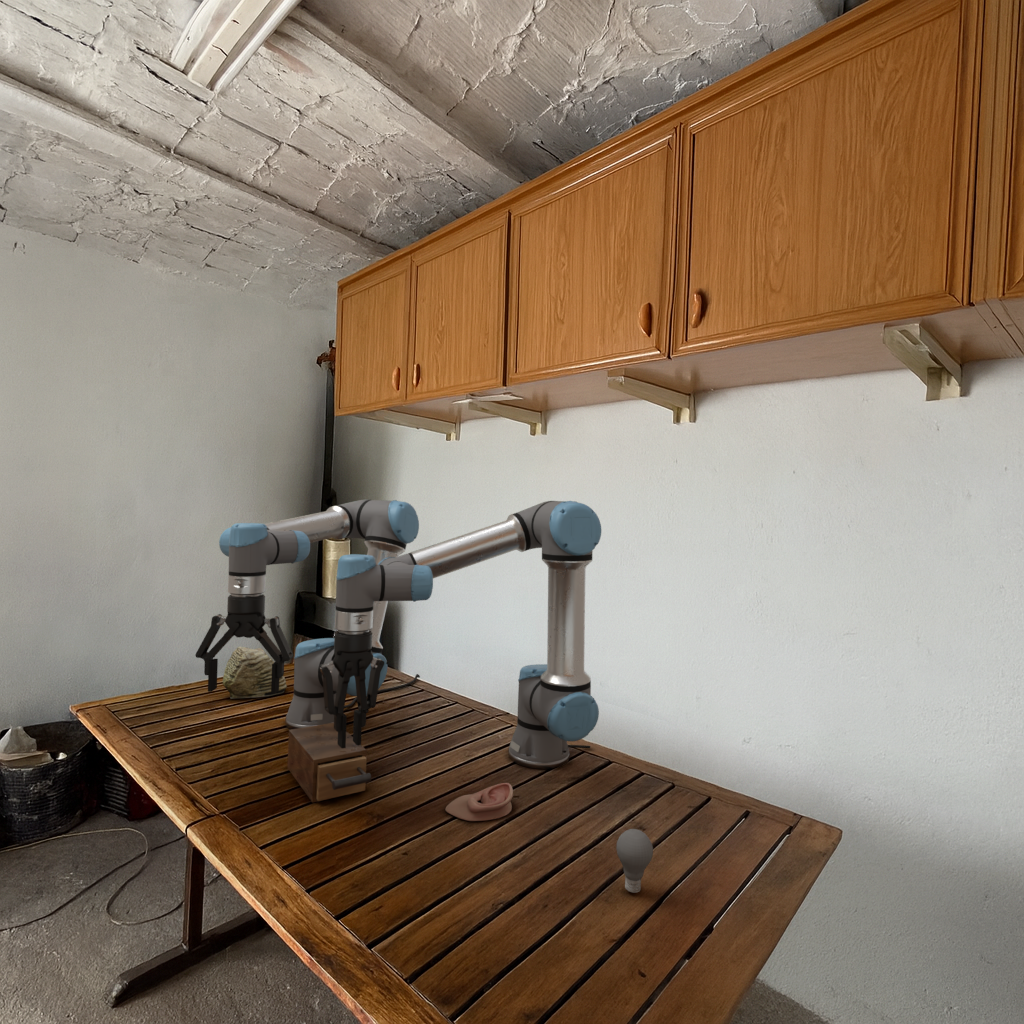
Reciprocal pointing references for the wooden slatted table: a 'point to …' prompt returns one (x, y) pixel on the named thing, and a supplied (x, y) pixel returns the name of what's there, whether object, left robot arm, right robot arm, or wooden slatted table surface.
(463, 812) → the anatomical model
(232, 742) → the wooden slatted table surface
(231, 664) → the fossil
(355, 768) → the drawer
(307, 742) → the cabinet
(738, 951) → the wooden slatted table surface
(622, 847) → the light bulb
